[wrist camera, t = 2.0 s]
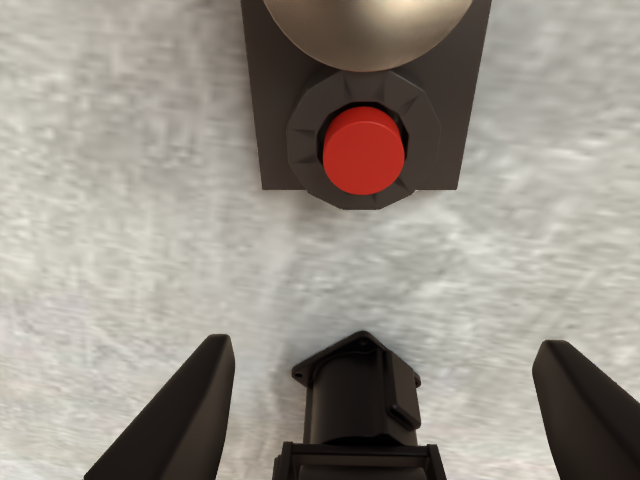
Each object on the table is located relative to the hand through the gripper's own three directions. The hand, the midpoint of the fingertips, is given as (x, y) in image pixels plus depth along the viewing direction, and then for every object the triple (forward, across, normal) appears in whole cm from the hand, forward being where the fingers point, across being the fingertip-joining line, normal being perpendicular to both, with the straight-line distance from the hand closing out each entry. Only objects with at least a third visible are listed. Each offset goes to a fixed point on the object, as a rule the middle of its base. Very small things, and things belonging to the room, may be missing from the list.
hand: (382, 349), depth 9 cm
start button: (+10, 0, 0) cm, 10 cm away
